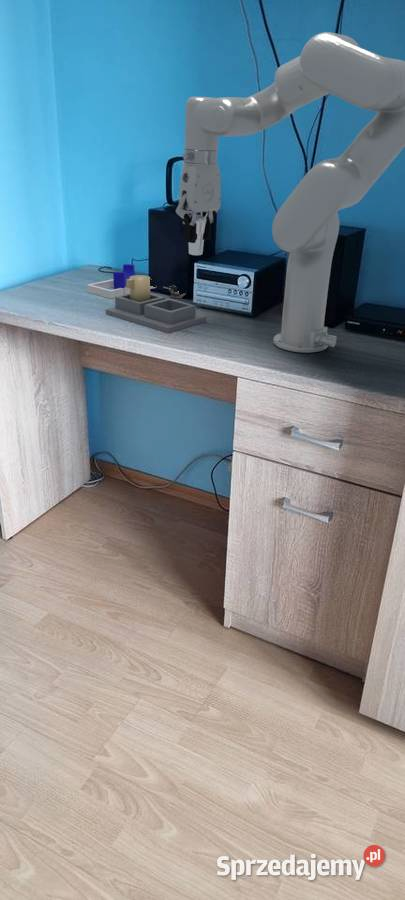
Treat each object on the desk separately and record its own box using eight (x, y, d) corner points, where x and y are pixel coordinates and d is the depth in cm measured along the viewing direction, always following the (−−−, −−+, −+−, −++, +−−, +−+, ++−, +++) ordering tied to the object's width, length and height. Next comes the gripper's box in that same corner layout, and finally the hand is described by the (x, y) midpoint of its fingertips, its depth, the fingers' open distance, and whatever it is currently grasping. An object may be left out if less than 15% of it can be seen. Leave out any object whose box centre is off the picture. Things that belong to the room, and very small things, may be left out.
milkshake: (199, 257, 158) (201, 213, 153) (182, 253, 161) (183, 210, 156) (211, 254, 161) (213, 211, 156) (194, 251, 164) (196, 208, 159)
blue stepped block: (120, 284, 198) (119, 263, 195) (134, 285, 197) (134, 264, 195) (108, 293, 187) (108, 272, 185) (124, 294, 187) (123, 273, 184)
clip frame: (156, 287, 196) (156, 280, 195) (110, 298, 184) (110, 291, 183) (132, 281, 201) (132, 274, 201) (87, 291, 189) (86, 284, 188)
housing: (206, 321, 168) (207, 284, 163) (168, 333, 158) (168, 294, 154) (144, 303, 180) (144, 269, 176) (105, 313, 170) (104, 277, 166)
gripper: (187, 161, 143) (184, 247, 151) (237, 158, 154) (231, 239, 163) (162, 157, 147) (161, 242, 156) (213, 155, 158) (209, 234, 167)
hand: (197, 240), depth 159 cm, fingers closed on milkshake, 4 cm apart
